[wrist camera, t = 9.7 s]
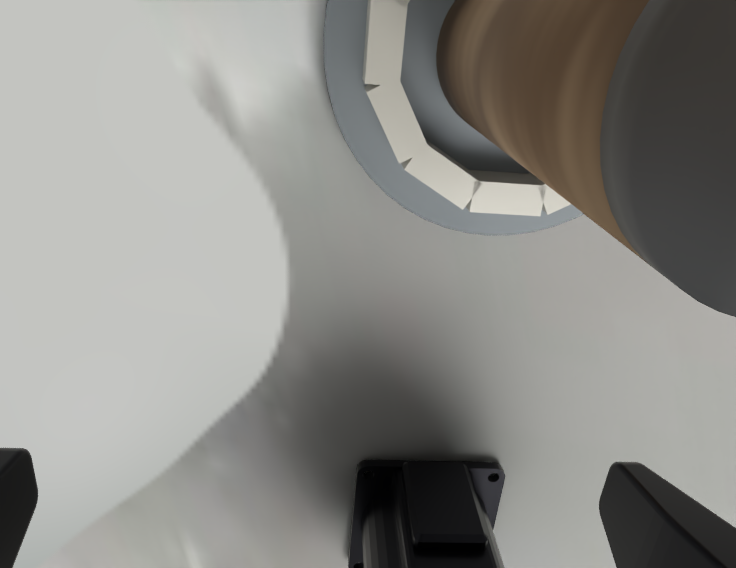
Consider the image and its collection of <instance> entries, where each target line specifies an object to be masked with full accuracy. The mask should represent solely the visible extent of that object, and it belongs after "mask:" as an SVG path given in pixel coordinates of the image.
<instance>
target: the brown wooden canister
mask: <svg viewBox="0 0 736 568" xmlns="http://www.w3.org/2000/svg"><path fill="white" fill-rule="evenodd" d="M436 66H437V73H438V78H439V82H440V86H441V89H442V91H443V93H444V96H445V98H446V99H447V101H448V103H449V105H450V106H451V107H452V109H453V110H454V111H455V113H456V114H457V115H458V116H459V117H460V118H462V119H463V120H464V121H465V122H466V123H468V124H469V125H470V126H471V127H473V128H474V129H475V130H477V131H478V132H479V133H480V134H482V135H483V136H484V137H486V138H487V139H488V140H489V141H491V142H492V143H493V144H495V145H496V146H497V147H498V148H500V149H501V150H502V151H504V152H505V153H506V154H507V155H509V156H510V157H511V158H513V159H514V160H515V161H516V162H518V163H519V164H520V165H522V166H523V167H524V168H526V169H527V170H528V171H529V172H531V173H532V174H533V175H535V176H536V177H537V178H538V179H540V180H541V181H542V182H544V183H545V184H546V185H547V186H549V187H550V188H551V189H553V190H554V191H555V192H556V193H558V194H559V195H560V196H562V197H563V198H564V199H565V200H567V201H568V202H569V203H571V204H572V205H573V206H574V207H576V208H577V209H578V210H580V211H581V212H582V213H583V214H585V215H586V216H587V217H589V218H590V219H591V220H593V221H594V222H595V223H596V224H598V225H599V226H600V227H602V228H603V229H604V230H605V231H607V232H608V233H609V234H611V235H612V236H613V237H614V238H616V239H617V240H618V241H620V242H621V243H622V244H623V245H625V246H626V247H627V248H629V249H630V250H631V251H632V252H634V253H635V254H636V255H638V256H639V257H640V258H641V259H643V260H644V261H645V262H647V263H648V264H649V265H650V266H652V267H653V268H654V269H656V270H657V271H658V272H660V273H661V274H662V275H663V276H665V277H666V278H667V279H669V280H670V281H671V282H672V283H674V284H675V285H676V286H678V287H679V288H680V289H682V290H683V291H684V292H686V293H687V294H688V295H690V296H691V297H693V298H694V299H695V300H697V301H698V302H700V303H702V304H704V305H706V306H708V307H710V308H712V309H714V310H716V311H719V312H722V313H725V314H728V315H731V316H735V317H736V0H455V1H454V3H453V4H452V6H451V7H450V9H449V11H448V13H447V15H446V17H445V19H444V22H443V24H442V27H441V30H440V34H439V38H438V43H437V52H436Z"/></svg>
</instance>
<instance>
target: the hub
mask: <svg viewBox="0 0 736 568" xmlns="http://www.w3.org/2000/svg"><path fill="white" fill-rule="evenodd" d="M454 1H455V0H328V2H327V7H326V17H325V26H324V67H325V74H326V81H327V88H328V93H329V96H330V100H331V104H332V107H333V111H334V115H335V117H336V120H337V122H338V125H339V127H340V129H341V132H342V134H343V137H344V139H345V141H346V142H347V144H348V146H349V148H350V149H351V151H352V153H353V155H354V156H355V158H356V160H357V161H358V162H359V164H360V165H361V166H362V168H363V169H364V170H365V172H366V173H367V174H368V175H369V177H370V178H371V179H372V180H373V181H374V182H375V183H376V184H377V185H378V186H379V187H380V188H381V189H382V190H383V191H384V192H385V193H386V194H387V195H388V196H389V197H391V198H392V199H393V200H395V201H396V202H397V203H399V204H400V205H401V206H403V207H404V208H405V209H407V210H409V211H411V212H412V213H414V214H416V215H418V216H419V217H421V218H423V219H425V220H428V221H430V222H432V223H435V224H437V225H440V226H442V227H445V228H449V229H453V230H457V231H461V232H465V233H472V234H480V235H515V234H522V233H530V232H535V231H539V230H542V229H546V228H550V227H554V226H557V225H559V224H562V223H564V222H567V221H570V220H572V219H575V218H577V217H579V216H581V215H583V213H582V212H581V211H580V210H578V209H577V208H576V207H574V206H573V205H572V204H571V203H569V202H568V201H567V200H565V199H564V198H563V197H562V196H560V195H559V194H558V193H556V192H555V191H554V190H553V189H551V188H550V187H549V186H547V185H546V184H545V183H544V182H542V181H541V180H540V179H538V178H537V177H536V176H535V175H533V174H532V173H531V172H529V171H528V170H527V169H526V168H524V167H523V166H522V165H520V164H519V163H518V162H516V161H515V160H514V159H513V158H511V157H510V156H509V155H507V154H506V153H505V152H504V151H502V150H501V149H500V148H498V147H497V146H496V145H495V144H493V143H492V142H491V141H489V140H488V139H487V138H486V137H484V136H483V135H482V134H480V133H479V132H478V131H477V130H475V129H474V128H473V127H471V126H470V125H469V124H468V123H466V122H465V121H464V120H463V119H462V118H460V117H459V116H458V115H457V114H456V113H455V111H454V110H453V109H452V107H451V106H450V105H449V103H448V101H447V99H446V98H445V96H444V93H443V91H442V89H441V86H440V82H439V78H438V73H437V66H436V52H437V43H438V38H439V34H440V30H441V27H442V24H443V22H444V19H445V17H446V15H447V13H448V11H449V9H450V7H451V6H452V4H453V3H454Z"/></svg>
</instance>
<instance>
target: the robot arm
mask: <svg viewBox="0 0 736 568" xmlns="http://www.w3.org/2000/svg"><path fill="white" fill-rule="evenodd" d="M365 471H372V472H371V473H364V472H365ZM492 473H496V474H495V475H492V476H489V475H490V474H492ZM504 479H505V474H504V471H503V469H502V467H501V465H499V464H498V463H494V462H453V461H408V460H364V461H362V462H360V463H359V464H358V466H357V468H356V479H355V490H354V501H353V512H352V523H351V534H350V545H349V556H348V567H349V568H504V565H503V562H502V559H501V556H500V552H499V549H498V546H497V543H496V540H495V537H494V533H493V528H494V524H495V519H496V515H497V511H498V506H499V502H500V497H501V493H502V488H503V484H504ZM37 500H38V488H37V483H36V478H35V473H34V468H33V463H32V458H31V455H30V453H29V451H28V450H26V449H23V448H0V568H13V565H14V562H15V560H16V557H17V555H18V552H19V549H20V547H21V544H22V542H23V539H24V536H25V534H26V531H27V528H28V526H29V523H30V521H31V518H32V516H33V513H34V510H35V508H36V504H37ZM599 510H600V516H601V519H602V522H603V525H604V529H605V532H606V535H607V538H608V541H609V545H610V548H611V551H612V554H613V557H614V560H615V564H616V567H617V568H736V528H735V527H733V526H732V525H730V524H729V523H728V522H726V521H725V520H723V519H722V518H720V517H719V516H717V515H716V514H714V513H713V512H711V511H710V510H709V509H707V508H706V507H704V506H703V505H701V504H700V503H698V502H697V501H695V500H694V499H692V498H691V497H689V496H688V495H687V494H685V493H684V492H682V491H681V490H679V489H678V488H676V487H675V486H673V485H672V484H670V483H669V482H668V481H666V480H665V479H663V478H662V477H660V476H659V475H657V474H656V473H654V472H653V471H651V470H650V469H648V468H647V467H646V466H644V465H642V464H641V463H637V462H615V463H613V464H612V465H611V467H610V469H609V472H608V475H607V478H606V481H605V484H604V488H603V491H602V494H601V497H600V501H599Z"/></svg>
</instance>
